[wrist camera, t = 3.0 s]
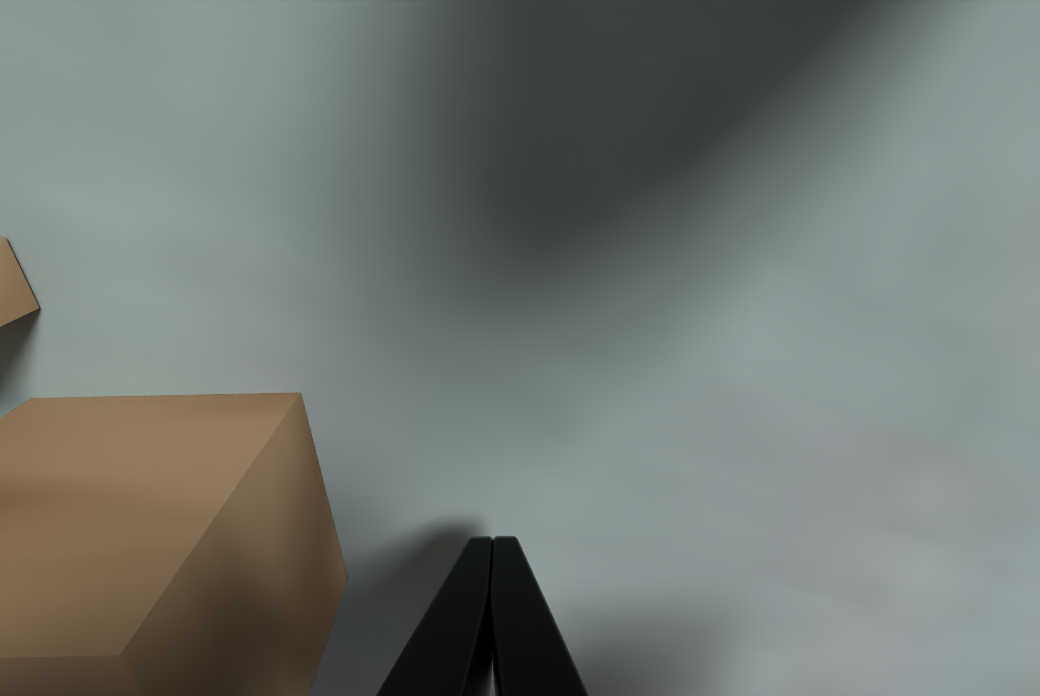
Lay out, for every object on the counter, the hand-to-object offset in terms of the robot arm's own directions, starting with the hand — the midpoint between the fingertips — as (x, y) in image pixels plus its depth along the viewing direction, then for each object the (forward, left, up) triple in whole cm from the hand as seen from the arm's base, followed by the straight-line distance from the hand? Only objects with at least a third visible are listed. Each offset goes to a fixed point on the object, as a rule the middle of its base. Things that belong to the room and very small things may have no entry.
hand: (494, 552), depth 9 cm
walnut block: (0, +6, -2) cm, 6 cm away
